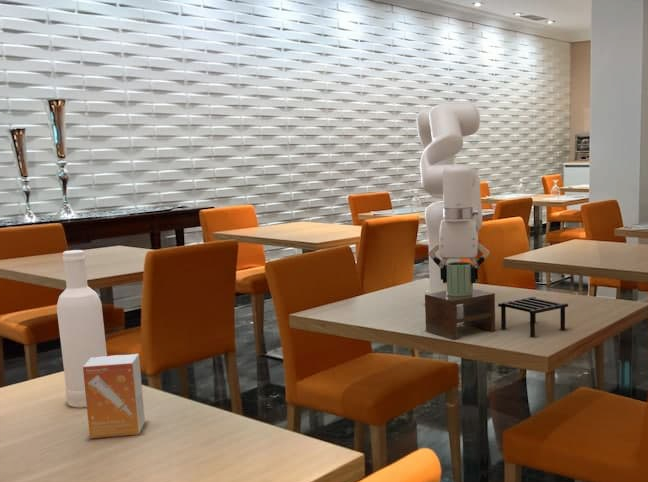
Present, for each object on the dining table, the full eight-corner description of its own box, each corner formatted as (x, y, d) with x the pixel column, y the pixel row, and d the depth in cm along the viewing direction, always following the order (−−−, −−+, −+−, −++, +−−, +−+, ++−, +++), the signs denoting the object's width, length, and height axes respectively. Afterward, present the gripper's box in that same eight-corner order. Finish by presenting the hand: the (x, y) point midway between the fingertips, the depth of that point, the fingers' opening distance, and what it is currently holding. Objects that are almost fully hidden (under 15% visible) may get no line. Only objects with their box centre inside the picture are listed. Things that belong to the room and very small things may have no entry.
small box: (89, 439, 128) (81, 366, 126) (98, 426, 134) (90, 356, 132) (140, 434, 130) (132, 362, 128) (146, 422, 136) (139, 352, 134)
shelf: (425, 331, 199) (424, 294, 198) (466, 322, 208) (466, 287, 206) (453, 339, 190) (452, 300, 188) (495, 330, 199) (494, 293, 197)
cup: (441, 293, 198) (440, 263, 196) (461, 290, 202) (461, 261, 201) (457, 297, 193) (456, 266, 191) (477, 293, 197) (477, 263, 195)
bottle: (67, 410, 143) (49, 255, 138) (67, 399, 150) (49, 250, 145) (113, 403, 147) (97, 251, 142) (110, 392, 154) (95, 247, 149)
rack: (498, 329, 200) (497, 303, 199) (533, 321, 208) (533, 296, 206) (532, 338, 190) (532, 311, 188) (568, 329, 198) (568, 303, 196)
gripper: (492, 213, 196) (493, 279, 199) (427, 213, 198) (428, 280, 201) (490, 215, 189) (491, 285, 192) (422, 216, 191) (424, 285, 194)
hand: (459, 281), depth 197 cm, fingers closed on cup, 7 cm apart
